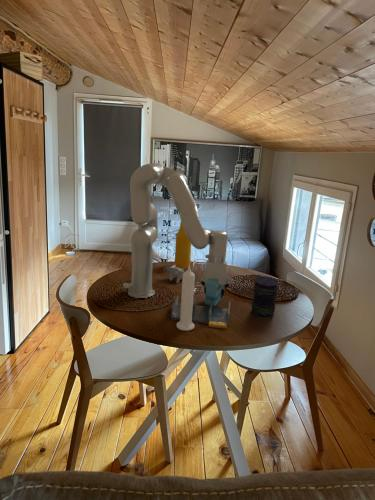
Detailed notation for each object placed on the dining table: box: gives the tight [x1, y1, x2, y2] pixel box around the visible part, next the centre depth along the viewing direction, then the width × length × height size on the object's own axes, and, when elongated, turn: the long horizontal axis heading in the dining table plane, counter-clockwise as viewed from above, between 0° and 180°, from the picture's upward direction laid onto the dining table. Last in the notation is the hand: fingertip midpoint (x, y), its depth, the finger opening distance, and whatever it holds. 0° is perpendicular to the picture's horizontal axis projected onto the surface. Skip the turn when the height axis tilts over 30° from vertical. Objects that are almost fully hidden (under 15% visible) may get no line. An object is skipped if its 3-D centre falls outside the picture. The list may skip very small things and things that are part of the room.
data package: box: [204, 279, 222, 308], centre depth 164 cm, size 12×4×12 cm, turn 159°
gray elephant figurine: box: [163, 264, 185, 284], centre depth 189 cm, size 9×12×8 cm
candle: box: [176, 265, 196, 332], centre depth 137 cm, size 7×7×25 cm
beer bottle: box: [173, 220, 192, 270], centre depth 208 cm, size 9×9×29 cm
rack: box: [170, 294, 231, 329], centre depth 150 cm, size 23×16×5 cm
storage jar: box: [250, 276, 279, 319], centre depth 155 cm, size 10×10×15 cm
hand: (213, 295), depth 164 cm, fingers open, 6 cm apart
